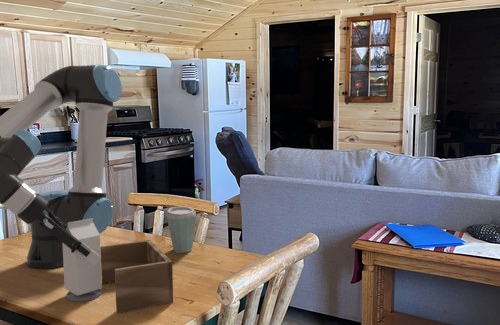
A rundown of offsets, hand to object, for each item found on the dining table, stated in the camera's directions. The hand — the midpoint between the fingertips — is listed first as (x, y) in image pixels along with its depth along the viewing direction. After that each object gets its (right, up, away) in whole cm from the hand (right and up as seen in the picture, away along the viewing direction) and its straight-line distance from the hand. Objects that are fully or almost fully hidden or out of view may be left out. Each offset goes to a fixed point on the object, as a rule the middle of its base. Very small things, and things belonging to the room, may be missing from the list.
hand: (94, 255), depth 129 cm
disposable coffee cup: (+18, -6, +39) cm, 44 cm away
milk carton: (-3, -9, 0) cm, 10 cm away
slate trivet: (-3, -11, 0) cm, 11 cm away
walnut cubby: (+11, -10, +2) cm, 15 cm away
